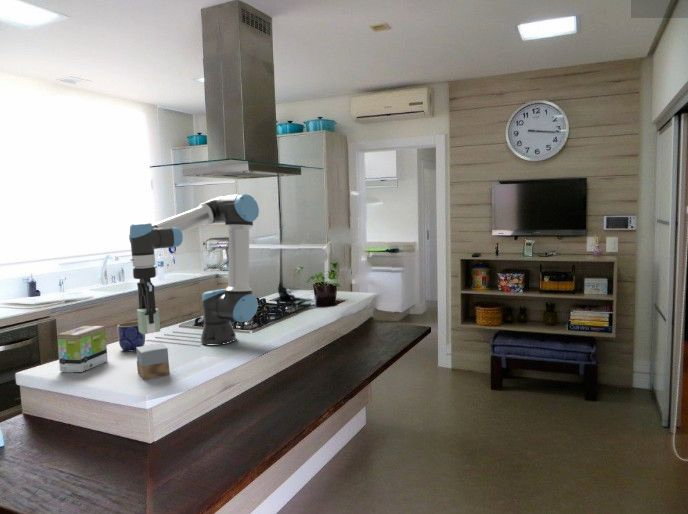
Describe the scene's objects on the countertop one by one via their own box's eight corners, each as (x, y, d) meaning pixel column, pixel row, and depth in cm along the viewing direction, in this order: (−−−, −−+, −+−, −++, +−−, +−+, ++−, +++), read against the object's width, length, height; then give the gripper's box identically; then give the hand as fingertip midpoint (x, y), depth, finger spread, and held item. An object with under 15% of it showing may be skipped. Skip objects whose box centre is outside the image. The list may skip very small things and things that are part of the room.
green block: (155, 328, 189) (154, 307, 188) (160, 331, 184) (158, 309, 184) (138, 331, 186) (136, 309, 185) (143, 334, 181) (141, 311, 180)
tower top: (162, 356, 192) (161, 343, 192) (168, 361, 185) (167, 348, 184) (137, 360, 188) (136, 347, 187) (142, 366, 180) (141, 352, 179)
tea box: (82, 373, 192) (79, 334, 190) (59, 372, 194) (55, 334, 192) (108, 361, 206) (105, 324, 205) (86, 360, 208) (83, 324, 207)
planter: (150, 348, 224) (148, 322, 222) (126, 354, 216) (123, 327, 215) (139, 344, 231) (137, 319, 230) (115, 350, 223) (112, 324, 222)
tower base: (163, 369, 193) (162, 356, 192) (169, 375, 185) (168, 361, 185) (137, 374, 188) (136, 360, 187) (143, 380, 180) (142, 366, 180)
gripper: (126, 266, 188) (131, 328, 190) (139, 269, 173) (145, 337, 175) (147, 264, 193) (152, 324, 195) (162, 267, 177) (167, 333, 179)
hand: (148, 330), depth 185 cm, fingers closed on green block, 6 cm apart
